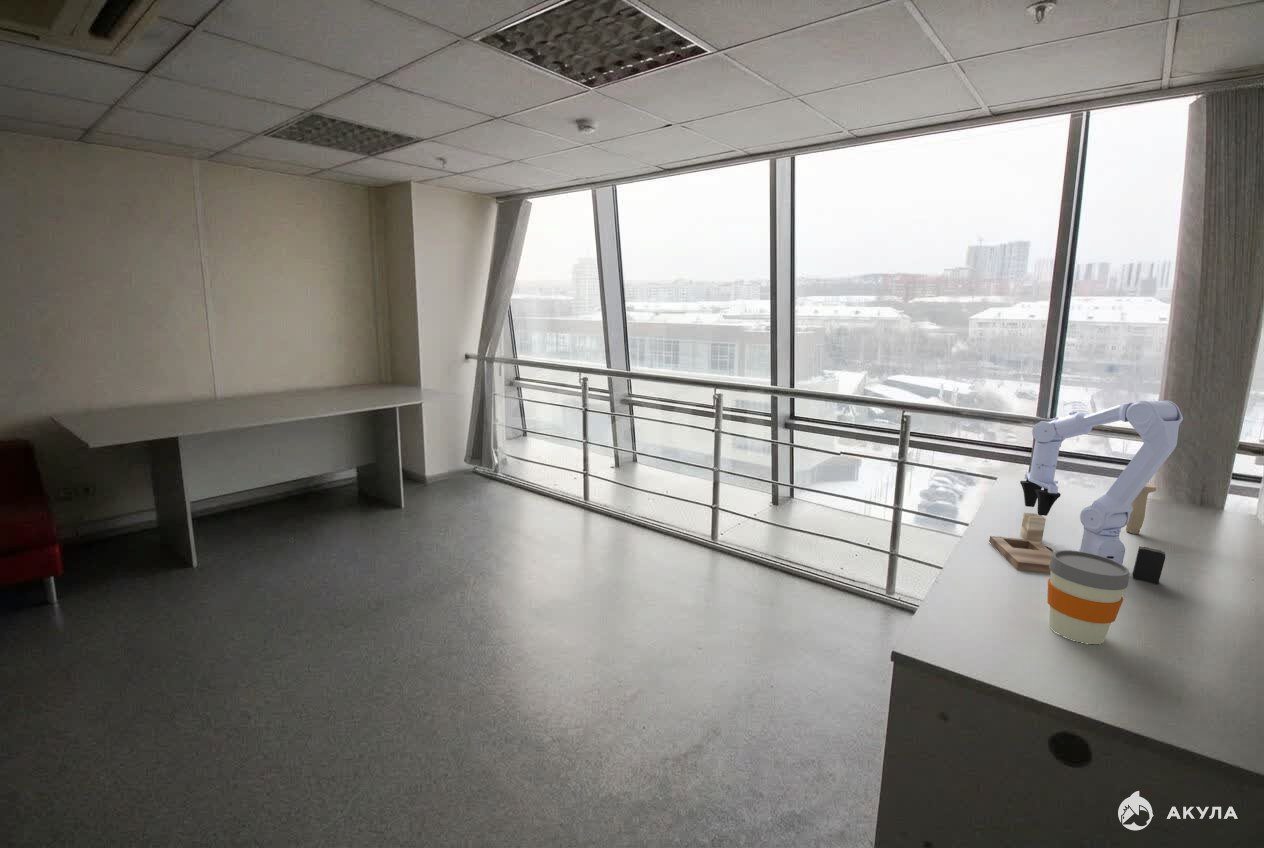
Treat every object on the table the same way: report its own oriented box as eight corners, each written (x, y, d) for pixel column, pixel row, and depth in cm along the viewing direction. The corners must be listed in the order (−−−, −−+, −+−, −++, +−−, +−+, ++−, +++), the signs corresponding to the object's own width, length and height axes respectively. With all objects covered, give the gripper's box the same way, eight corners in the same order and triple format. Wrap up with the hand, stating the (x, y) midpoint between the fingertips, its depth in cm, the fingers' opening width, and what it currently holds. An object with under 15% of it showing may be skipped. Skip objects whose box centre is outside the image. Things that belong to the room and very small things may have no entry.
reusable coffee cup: (1042, 610, 130) (1054, 544, 127) (1116, 632, 122) (1131, 562, 119) (1034, 633, 120) (1047, 562, 118) (1114, 658, 113) (1130, 582, 110)
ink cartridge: (1157, 581, 147) (1165, 551, 146) (1158, 585, 146) (1166, 553, 144) (1131, 575, 150) (1139, 545, 149) (1132, 578, 149) (1139, 547, 147)
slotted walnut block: (1070, 575, 149) (1071, 567, 149) (1017, 569, 151) (1018, 561, 151) (1036, 547, 166) (1037, 540, 166) (988, 542, 168) (990, 535, 168)
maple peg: (1041, 542, 171) (1045, 518, 169) (1026, 540, 171) (1030, 517, 170) (1035, 537, 175) (1039, 513, 173) (1019, 535, 175) (1023, 512, 174)
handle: (1146, 537, 178) (1156, 488, 175) (1118, 532, 182) (1128, 483, 179) (1145, 533, 182) (1156, 485, 179) (1118, 527, 185) (1128, 480, 183)
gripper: (1073, 471, 161) (1064, 520, 164) (1046, 458, 175) (1038, 503, 178) (1044, 469, 162) (1036, 518, 165) (1020, 457, 176) (1012, 501, 179)
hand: (1035, 510), depth 171 cm, fingers open, 7 cm apart
